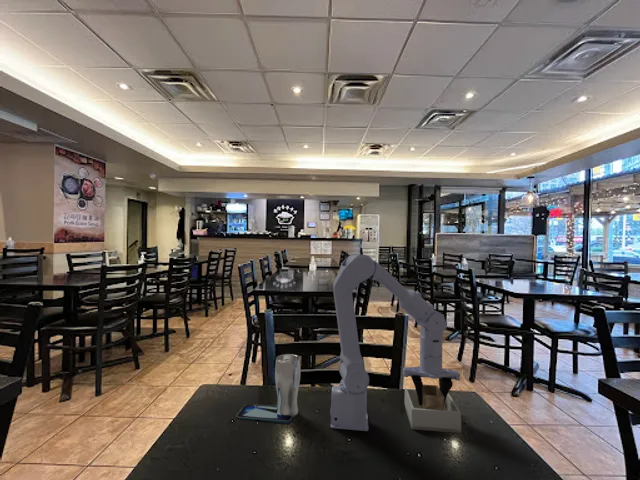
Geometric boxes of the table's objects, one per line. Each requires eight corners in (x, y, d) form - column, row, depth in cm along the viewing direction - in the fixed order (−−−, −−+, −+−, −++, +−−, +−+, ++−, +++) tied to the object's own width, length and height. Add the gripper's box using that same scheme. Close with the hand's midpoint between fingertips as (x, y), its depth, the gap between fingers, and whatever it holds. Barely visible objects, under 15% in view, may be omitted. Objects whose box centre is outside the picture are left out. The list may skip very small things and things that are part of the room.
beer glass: (295, 421, 82) (296, 363, 83) (270, 417, 84) (271, 361, 84) (302, 407, 89) (303, 354, 89) (279, 405, 90) (280, 352, 91)
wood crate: (424, 416, 81) (424, 395, 81) (418, 403, 88) (419, 384, 88) (444, 418, 81) (444, 396, 81) (437, 405, 88) (437, 385, 88)
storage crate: (411, 429, 79) (411, 409, 80) (404, 405, 91) (404, 388, 92) (461, 433, 78) (461, 412, 78) (447, 408, 90) (447, 391, 90)
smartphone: (245, 403, 90) (296, 407, 88) (245, 407, 90) (296, 410, 88) (234, 417, 83) (289, 421, 81) (234, 420, 83) (289, 425, 81)
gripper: (406, 357, 82) (405, 409, 82) (463, 360, 80) (463, 414, 80) (402, 348, 89) (401, 397, 89) (455, 351, 87) (455, 401, 87)
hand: (430, 404), depth 85 cm, fingers closed on wood crate, 5 cm apart
